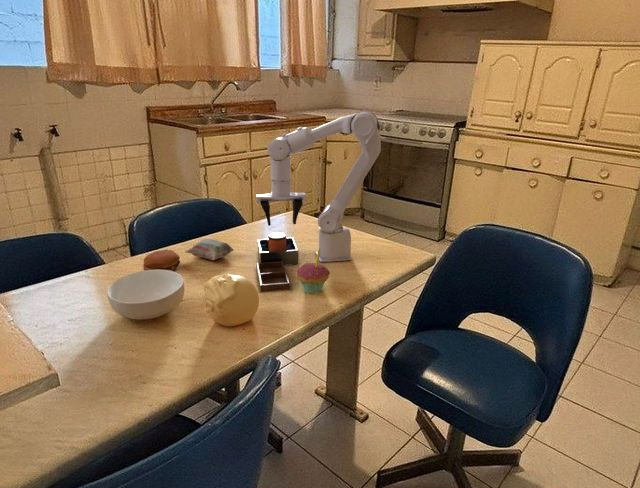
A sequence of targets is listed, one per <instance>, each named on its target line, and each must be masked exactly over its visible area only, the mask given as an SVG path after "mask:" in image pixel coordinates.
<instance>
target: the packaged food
mask: <svg viewBox="0 0 640 488" xmlns="http://www.w3.org/2000/svg"><path fill="white" fill-rule="evenodd" d="M233 251H235V249H234V248H233V246H231V245H230V244H228V243H227V242H224V241H220V240H216V239H212V238H204V239H202V240H200V241H198V242H197V243H195V244H194V245H193V246H192V247H190V248H189V249H187V250H185V251H184V252H185V253H188V254H191V255H192V256H194V257H197V258H198V257H199V258H203V259H206V260H210V261H215V260H219V259H221V258H223V257H224V256H227V255H229V254H230V253H231V252H233Z"/></svg>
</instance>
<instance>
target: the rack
mask: <svg viewBox="0 0 640 488" xmlns="http://www.w3.org/2000/svg"><path fill="white" fill-rule="evenodd" d="M256 273H257V278H258V284H259V290H260V293H265V292H277V291H288V290H290V289H291V283H290V279H289V277H288V274H287V273H288V272H287V270H286V267H285V265H284V264H283V261H281V262H267V263H260V262H257V263H256Z"/></svg>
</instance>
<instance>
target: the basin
mask: <svg viewBox="0 0 640 488" xmlns="http://www.w3.org/2000/svg"><path fill="white" fill-rule="evenodd" d="M257 255H258V259H259V263H267V262H281V261H283V264H284V266H296V265H299V248H298V246H297V244H296V242H295V239H294V236H293V237H286V251H270V252H269V241H268V238H259V239H258V238H257Z"/></svg>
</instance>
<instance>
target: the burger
mask: <svg viewBox="0 0 640 488" xmlns="http://www.w3.org/2000/svg"><path fill="white" fill-rule="evenodd" d="M180 259H181V256H180V254H178V253H177V252H175V251H174V250H172V249H161V250H155V251H153V252H150V253H148V254H147V255H146V256H145V257H144V259H143V271H146V270H169V271H174V270H175V269H177V268H178V267H179V265H180V264H181V261H180Z"/></svg>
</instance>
